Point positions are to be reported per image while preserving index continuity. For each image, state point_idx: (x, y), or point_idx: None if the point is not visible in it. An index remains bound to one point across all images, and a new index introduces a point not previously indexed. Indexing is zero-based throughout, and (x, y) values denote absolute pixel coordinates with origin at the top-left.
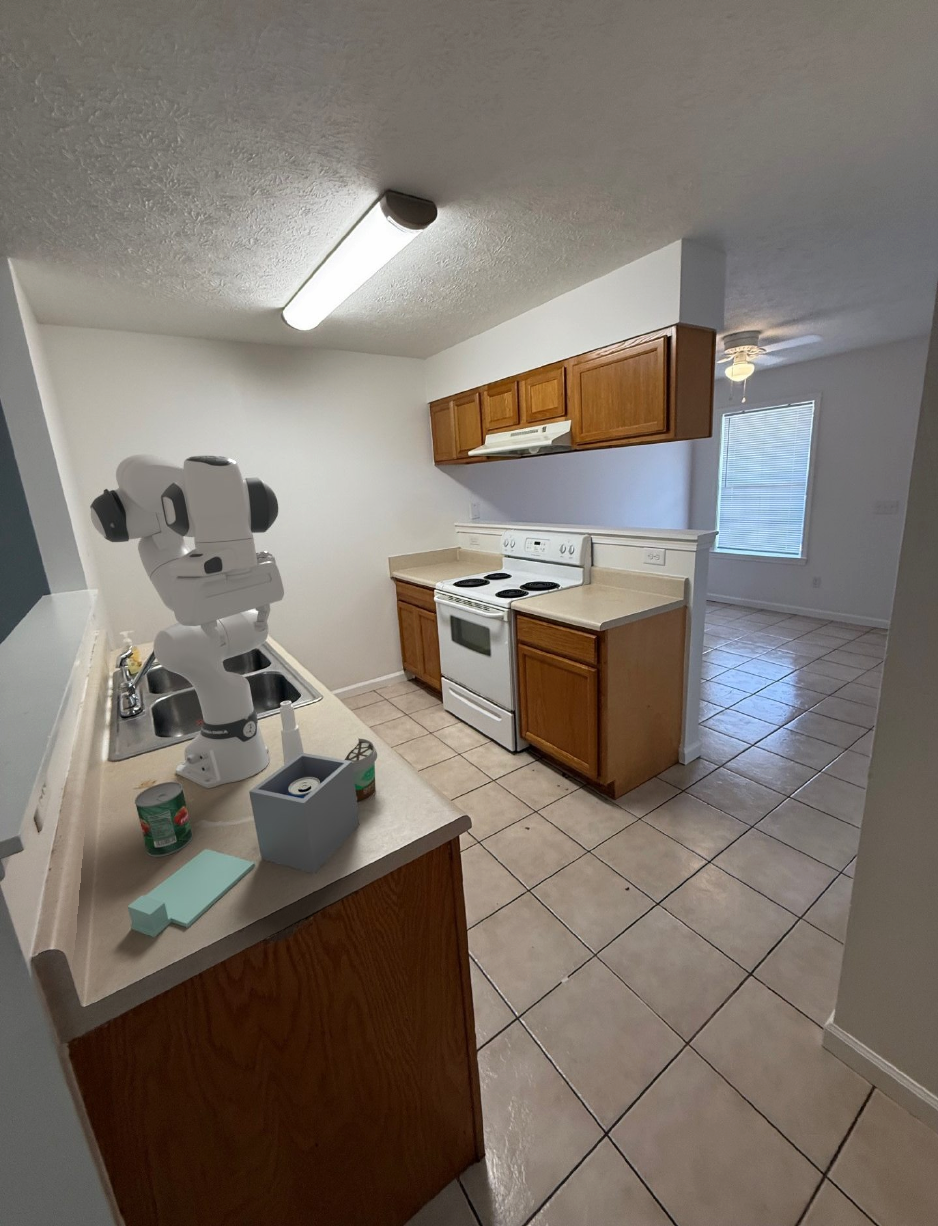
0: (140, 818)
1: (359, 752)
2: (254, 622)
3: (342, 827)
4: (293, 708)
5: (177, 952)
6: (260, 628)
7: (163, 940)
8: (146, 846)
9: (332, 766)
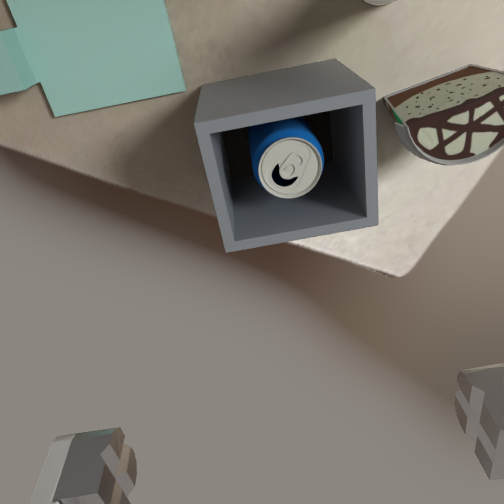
0: None
1: (478, 121)
2: (496, 433)
3: None
4: None
5: (33, 143)
6: (465, 424)
7: (24, 105)
8: None
9: (361, 182)
